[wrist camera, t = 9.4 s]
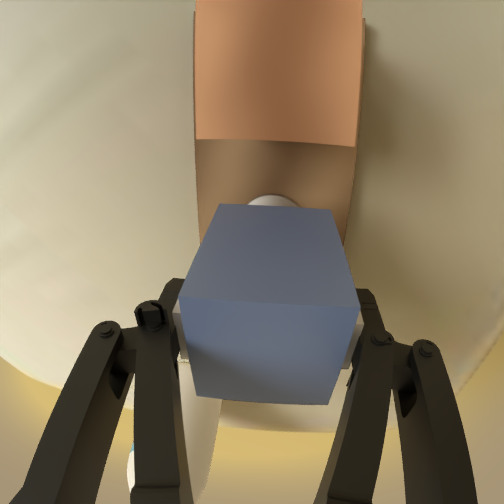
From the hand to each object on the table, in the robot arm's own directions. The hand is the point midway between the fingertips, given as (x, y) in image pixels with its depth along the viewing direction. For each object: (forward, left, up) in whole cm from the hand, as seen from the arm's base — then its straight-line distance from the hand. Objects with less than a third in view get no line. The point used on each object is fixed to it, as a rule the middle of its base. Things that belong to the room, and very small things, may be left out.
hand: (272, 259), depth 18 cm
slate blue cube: (0, 0, 0) cm, 0 cm away
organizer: (0, +5, -5) cm, 7 cm away
